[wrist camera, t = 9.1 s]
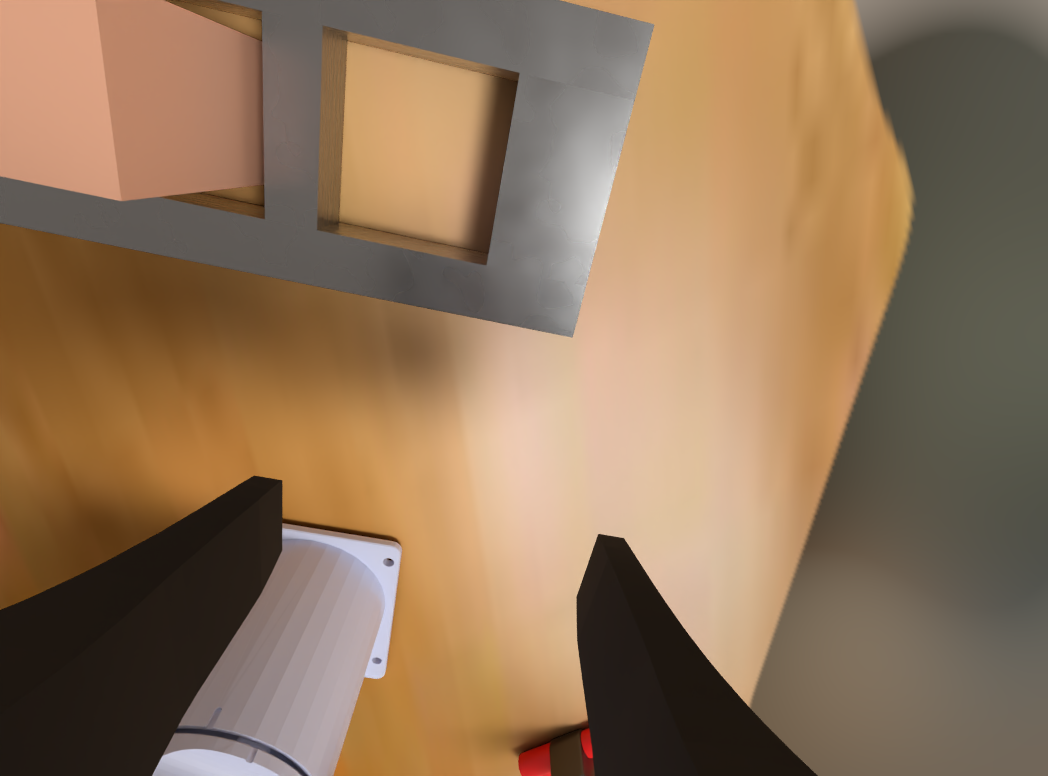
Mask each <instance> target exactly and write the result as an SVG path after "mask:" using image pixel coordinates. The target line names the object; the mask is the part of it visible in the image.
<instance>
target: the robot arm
mask: <svg viewBox="0 0 1048 776" xmlns="http://www.w3.org/2000/svg"><path fill="white" fill-rule="evenodd" d="M401 554H402V547H401V546H400V545H399V544H398V543H397V542H394V541H389V540H383V539H377V538H371V537H365V536H358V535H352V534H346V533H340V532H334V531H328V530H322V529H315V528H309V527H303V526H297V525H291V524H285V523H282V480H277V479H271V478H265V477H259V476H253V477H251V478H249V479H248V480H246V481H244V482H243V483H241V484H239V485H238V486H236V487H234V488H233V489H231V490H230V491H228V492H226V493H225V494H223V495H221V496H220V497H218V498H216V499H215V500H213V501H212V502H210V503H208V504H207V505H205V506H203V507H202V508H200V509H198V510H197V511H195V512H194V513H192V514H190V515H188V516H187V517H185V518H183V519H182V520H180V521H178V522H177V523H175V524H173V525H172V526H170V527H168V528H166V529H165V530H163V531H161V532H160V533H158V534H156V535H154V536H152V537H150V538H149V539H147V540H145V541H143V542H141V543H139V544H138V545H136V546H134V547H132V548H130V549H128V550H127V551H125V552H123V553H121V554H119V555H117V556H116V557H114V558H112V559H110V560H108V561H106V562H104V563H102V564H100V565H98V566H96V567H94V568H92V569H90V570H88V571H86V572H84V573H82V574H80V575H78V576H76V577H74V578H72V579H70V580H68V581H65V582H63V583H61V584H59V585H57V586H55V587H52V588H50V589H48V590H46V591H44V592H42V593H40V594H37V595H35V596H33V597H31V598H28V599H26V600H24V601H21V602H19V603H16V604H14V605H12V606H9V607H7V608H4V609H2V610H0V776H333V775H334V771H335V768H336V765H337V762H338V759H339V756H340V752H341V749H342V746H343V743H344V740H345V737H346V733H347V730H348V727H349V724H350V721H351V717H352V714H353V711H354V708H355V705H356V702H357V698H358V695H359V692H360V689H361V686H362V683H363V679H364V677H368V678H375V679H378V678H381V677H383V676H384V674H385V671H386V667H387V660H388V652H389V645H390V637H391V630H392V622H393V615H394V607H395V599H396V592H397V584H398V577H399V569H400V562H401ZM386 558H390V559H392V560H388V559H386ZM577 642H578V650H579V657H580V665H581V672H582V680H583V687H584V694H585V701H586V709H587V716H588V723H589V730H590V737H591V744H592V753H593V763H594V774H595V776H817V775H816V774H815V773H814V772H813V771H812V770H811V769H810V768H809V767H808V766H807V765H806V764H805V763H804V762H803V761H802V760H801V759H800V758H798V757H797V756H796V755H795V754H794V753H793V752H792V751H791V750H790V749H789V748H788V747H787V746H786V745H785V744H784V743H783V742H782V741H781V740H780V739H779V738H778V737H777V736H776V735H775V734H774V733H773V732H772V731H771V730H770V729H769V728H768V727H767V726H766V725H765V724H764V723H763V722H762V720H761V719H760V718H759V717H758V716H757V715H756V714H755V713H754V712H753V711H752V710H751V709H750V708H749V707H748V706H747V704H746V703H745V702H744V701H743V700H742V699H741V698H740V696H739V695H738V694H737V693H736V692H735V691H734V690H733V689H732V687H731V686H730V685H729V684H728V683H727V682H726V681H725V679H724V678H723V677H722V676H721V675H720V674H719V672H718V671H717V670H716V669H715V668H714V666H713V665H712V664H711V663H710V662H709V660H708V659H707V658H706V656H705V655H704V654H703V653H702V651H701V650H700V649H699V647H698V646H697V645H696V643H695V642H694V641H693V640H692V638H691V637H690V636H689V634H688V633H687V632H686V630H685V629H684V628H683V626H682V625H681V624H680V622H679V621H678V619H677V618H676V616H675V615H674V614H673V612H672V611H671V609H670V608H669V606H668V605H667V604H666V602H665V601H664V599H663V598H662V596H661V595H660V593H659V592H658V590H657V589H656V587H655V586H654V584H653V583H652V581H651V580H650V578H649V576H648V575H647V573H646V572H645V570H644V569H643V567H642V566H641V564H640V562H639V561H638V559H637V558H636V556H635V555H634V553H633V552H632V550H631V548H630V547H629V545H628V544H627V542H626V541H625V539H624V538H619V537H613V536H607V535H601V534H598V537H597V540H596V542H595V545H594V548H593V551H592V554H591V557H590V560H589V563H588V566H587V568H586V571H585V574H584V577H583V580H582V583H581V586H580V589H579V592H578V594H577Z"/></svg>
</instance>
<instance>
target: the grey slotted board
mask: <svg viewBox="0 0 1048 776" xmlns="http://www.w3.org/2000/svg"><path fill="white" fill-rule="evenodd" d="M179 1H183V2H187V3H192V4H196V5H200V6H204V7H208V8H213V9H217V10H221V11H225V12H229V13H233V14H238V15H242V16H246V17H250V18H254V19H258V20H262V59H263V127H264V196H265V207H264V206H259V205H254V204H250V203H245V202H240V201H235V200H231V199H226V198H221V197H216V196H212V195H207V194H202V193H197V192H196V193H188V194H179V195H170V196H162V197H153V198H145V199H136V200H127V201H118V200H113V199H108V198H103V197H99V196H94V195H89V194H84V193H79V192H74V191H69V190H65V189H60V188H55V187H50V186H45V185H40V184H35V183H31V182H26V181H21V180H16V179H11V178H6V177H1V176H0V223H3V224H8V225H13V226H18V227H23V228H28V229H33V230H38V231H43V232H48V233H53V234H58V235H63V236H68V237H73V238H78V239H83V240H88V241H93V242H98V243H103V244H108V245H113V246H118V247H123V248H128V249H133V250H138V251H143V252H148V253H153V254H158V255H163V256H168V257H173V258H178V259H183V260H188V261H193V262H198V263H203V264H208V265H213V266H218V267H223V268H228V269H233V270H238V271H243V272H248V273H253V274H258V275H263V276H268V277H273V278H278V279H283V280H288V281H293V282H298V283H303V284H308V285H313V286H318V287H323V288H328V289H333V290H338V291H343V292H348V293H353V294H358V295H363V296H368V297H373V298H378V299H383V300H388V301H393V302H398V303H403V304H408V305H413V306H418V307H423V308H428V309H433V310H438V311H443V312H448V313H453V314H458V315H463V316H468V317H473V318H478V319H483V320H488V321H493V322H498V323H503V324H508V325H513V326H518V327H523V328H528V329H533V330H538V331H543V332H548V333H553V334H558V335H563V336H568V337H573V334H574V330H575V326H576V322H577V319H578V315H579V311H580V307H581V303H582V299H583V296H584V292H585V288H586V284H587V280H588V276H589V273H590V269H591V265H592V261H593V257H594V254H595V250H596V246H597V242H598V238H599V234H600V231H601V227H602V223H603V219H604V215H605V211H606V208H607V204H608V200H609V196H610V192H611V189H612V185H613V181H614V177H615V173H616V169H617V166H618V162H619V158H620V154H621V150H622V146H623V143H624V139H625V135H626V131H627V127H628V124H629V120H630V116H631V112H632V108H633V104H634V101H635V97H636V93H637V89H638V85H639V81H640V78H641V74H642V70H643V66H644V62H645V58H646V55H647V51H648V47H649V43H650V39H651V36H652V32H653V28H654V24H650V23H646V22H642V21H639V20H635V19H631V18H627V17H623V16H619V15H615V14H611V13H607V12H603V11H599V10H595V9H591V8H587V7H583V6H579V5H575V4H572V3H568V2H564V1H560V0H179ZM347 41H350V42H355V43H359V44H363V45H367V46H371V47H376V48H380V49H384V50H388V51H392V52H396V53H401V54H405V55H409V56H413V57H417V58H422V59H426V60H430V61H434V62H438V63H442V64H447V65H451V66H455V67H459V68H463V69H468V70H472V71H476V72H480V73H484V74H488V75H493V76H497V77H501V78H505V79H509V80H514V81H518V86H517V92H516V98H515V104H514V109H513V115H512V121H511V127H510V133H509V138H508V144H507V150H506V156H505V162H504V167H503V173H502V179H501V185H500V191H499V196H498V202H497V208H496V214H495V219H494V225H493V231H492V237H491V243H490V248H489V254H487V253H482V252H477V251H473V250H468V249H463V248H458V247H454V246H449V245H444V244H439V243H435V242H430V241H425V240H420V239H416V238H411V237H406V236H401V235H397V234H392V233H387V232H382V231H378V230H373V229H368V228H363V227H359V226H354V225H349V224H345V223H340V222H339V208H340V187H341V165H342V143H343V121H344V99H345V78H346V56H347Z"/></svg>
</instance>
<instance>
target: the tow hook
mask: <svg viewBox="0 0 1048 776" xmlns="http://www.w3.org/2000/svg"><path fill="white" fill-rule="evenodd" d="M518 763H519V770H520V773H521V775H522V776H595V774H594V763H593V753H592V744H591V737H590V730H589V728H588V729H585V730H583V729H579V730H576V731H574V732H571V733H568V734H566V735H563V736H560V737H557V738H555V739H553V740H552V741H551V742H550V743H547V744H545V745H542V746H539V747H537V748H534V749H531V750H528V751H526V752H523V753H521V754H520V755H519V760H518Z"/></svg>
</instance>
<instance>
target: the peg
mask: <svg viewBox="0 0 1048 776" xmlns="http://www.w3.org/2000/svg"><path fill="white" fill-rule="evenodd" d="M0 176H1V177H6V178H11V179H16V180H21V181H26V182H31V183H35V184H40V185H45V186H50V187H55V188H60V189H65V190H69V191H74V192H79V193H84V194H89V195H94V196H99V197H103V198H108V199H113V200H118V201H127V200H136V199H145V198H153V197H162V196H170V195H179V194H188V193H196V192H205V191H213V190H222V189H230V188H239V187H248V186H256V185H264V127H263V59H262V41H259V40H257V39H255V38H252V37H250V36H248V35H245V34H243V33H240V32H238V31H236V30H233V29H231V28H229V27H226V26H224V25H221V24H219V23H217V22H214V21H212V20H210V19H207V18H205V17H202V16H200V15H198V14H195V13H193V12H191V11H188V10H186V9H183V8H181V7H179V6H176V5H174V4H172V3H169V2H167V1H164V0H0Z"/></svg>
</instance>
